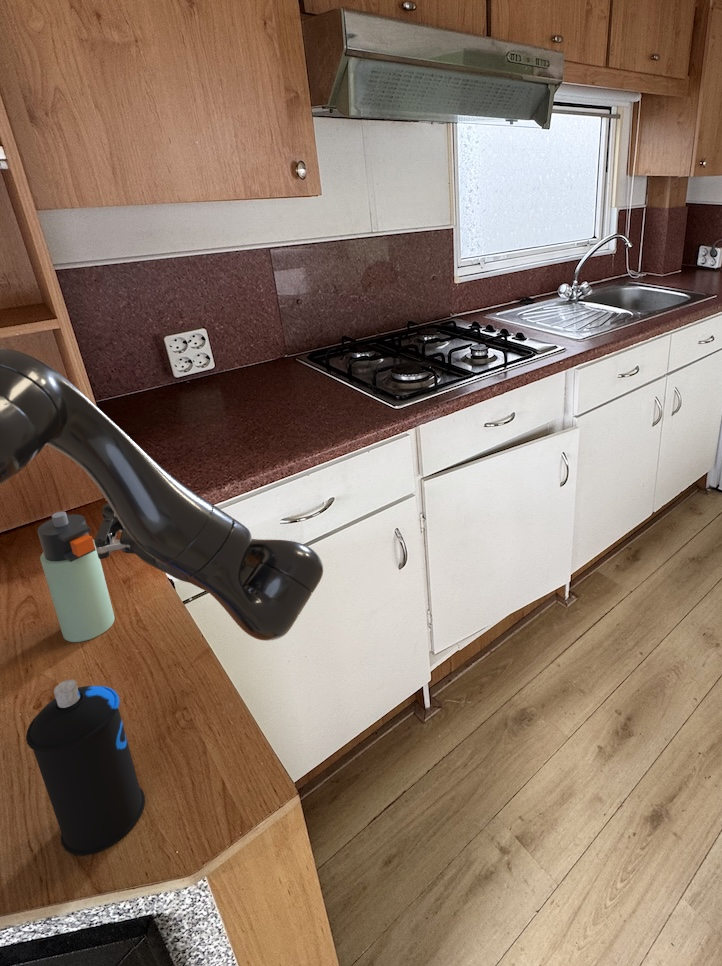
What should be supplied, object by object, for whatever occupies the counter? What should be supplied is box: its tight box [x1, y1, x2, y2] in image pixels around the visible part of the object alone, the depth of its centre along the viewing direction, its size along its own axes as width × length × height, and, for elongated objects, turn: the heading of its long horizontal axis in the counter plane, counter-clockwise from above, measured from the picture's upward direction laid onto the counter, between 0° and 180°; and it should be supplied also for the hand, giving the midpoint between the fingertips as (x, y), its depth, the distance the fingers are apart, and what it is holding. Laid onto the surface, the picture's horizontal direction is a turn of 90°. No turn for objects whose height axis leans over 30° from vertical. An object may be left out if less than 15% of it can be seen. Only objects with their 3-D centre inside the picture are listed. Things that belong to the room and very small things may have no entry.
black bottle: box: [25, 679, 146, 856], centre depth 64 cm, size 8×8×20 cm
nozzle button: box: [70, 534, 95, 557], centre depth 88 cm, size 2×2×2 cm
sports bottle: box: [37, 511, 116, 643], centre depth 93 cm, size 8×7×22 cm
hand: (109, 509), depth 80 cm, fingers closed
